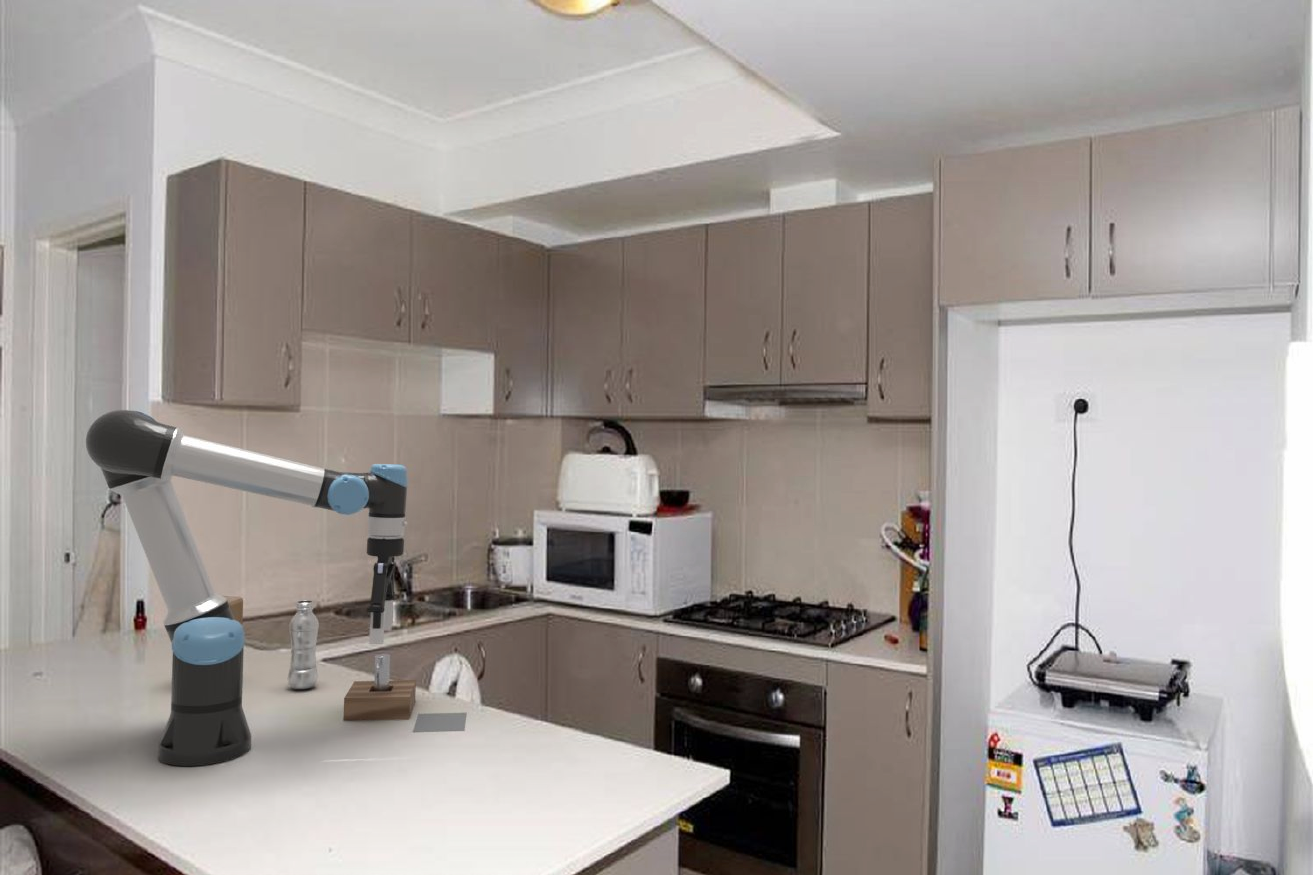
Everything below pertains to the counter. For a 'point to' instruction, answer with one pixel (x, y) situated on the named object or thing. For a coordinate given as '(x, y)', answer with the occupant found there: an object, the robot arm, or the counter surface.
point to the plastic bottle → (303, 647)
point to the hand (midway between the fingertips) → (380, 636)
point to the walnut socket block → (379, 701)
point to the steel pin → (382, 673)
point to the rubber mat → (440, 722)
